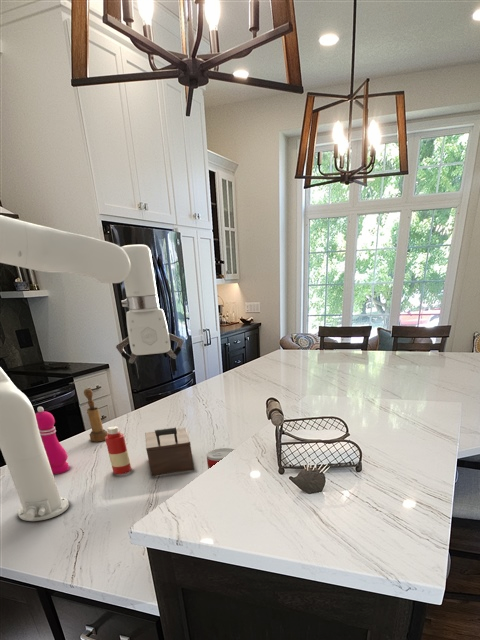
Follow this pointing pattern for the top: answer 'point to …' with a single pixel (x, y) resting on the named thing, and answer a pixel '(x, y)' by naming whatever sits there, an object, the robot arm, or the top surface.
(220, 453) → the canned food
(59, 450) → the pepper mill
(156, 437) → the bread box lid
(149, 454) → the bread box
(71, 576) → the top surface
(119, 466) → the ketchup bottle
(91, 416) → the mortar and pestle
